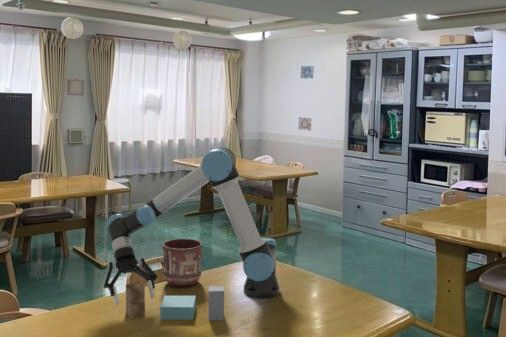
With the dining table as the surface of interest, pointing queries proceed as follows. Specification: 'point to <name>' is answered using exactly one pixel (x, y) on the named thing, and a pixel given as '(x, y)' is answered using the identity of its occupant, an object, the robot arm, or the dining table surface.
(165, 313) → the teal base block
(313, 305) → the dining table surface
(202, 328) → the dining table surface
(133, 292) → the walnut block
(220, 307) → the slate block
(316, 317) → the dining table surface
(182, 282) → the pottery
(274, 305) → the dining table surface
